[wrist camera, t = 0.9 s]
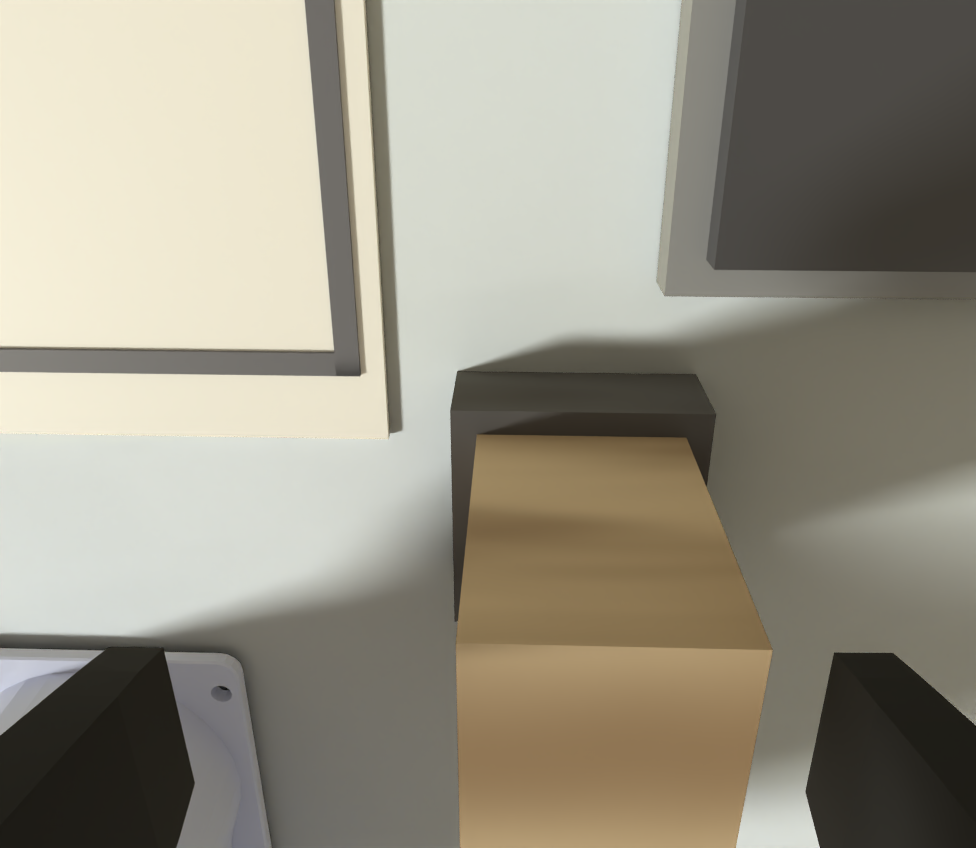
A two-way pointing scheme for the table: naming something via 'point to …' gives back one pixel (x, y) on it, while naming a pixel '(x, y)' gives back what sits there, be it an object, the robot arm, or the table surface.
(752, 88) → the ink pad
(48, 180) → the marked card
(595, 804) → the stamp
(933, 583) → the table surface
